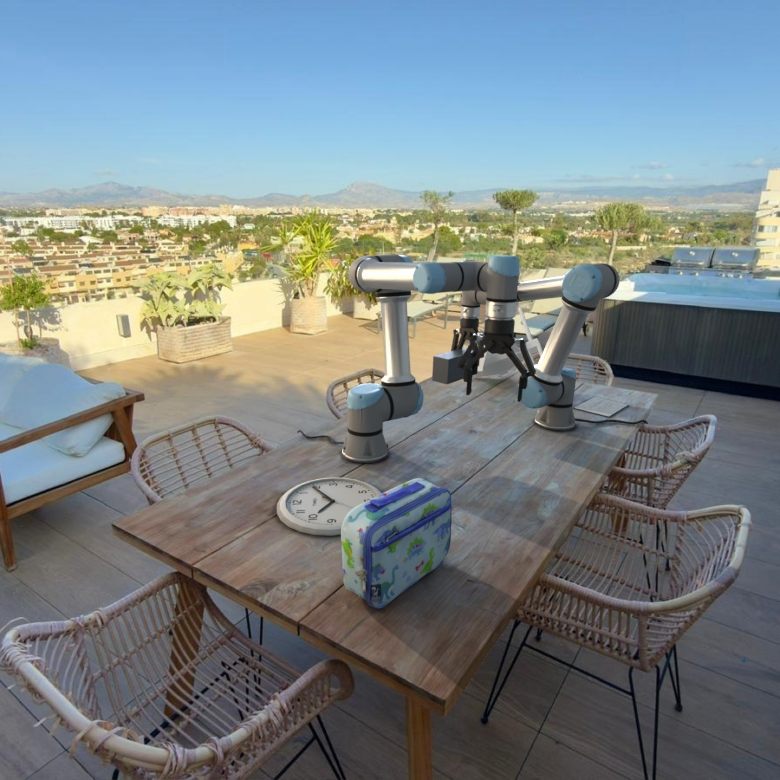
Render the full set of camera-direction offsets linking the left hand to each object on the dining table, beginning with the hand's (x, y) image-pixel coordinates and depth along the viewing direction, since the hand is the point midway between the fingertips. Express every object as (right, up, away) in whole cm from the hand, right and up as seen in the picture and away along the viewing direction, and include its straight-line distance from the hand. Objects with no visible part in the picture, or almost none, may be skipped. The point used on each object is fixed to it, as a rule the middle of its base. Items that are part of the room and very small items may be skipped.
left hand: (493, 397), depth 140 cm
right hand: (+4, +9, +77) cm, 78 cm away
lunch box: (-26, -39, -27) cm, 54 cm away
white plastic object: (+29, +5, +117) cm, 121 cm away
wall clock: (-43, -30, +3) cm, 53 cm away
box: (-1, +7, +72) cm, 72 cm away
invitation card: (+64, -5, +87) cm, 108 cm away
